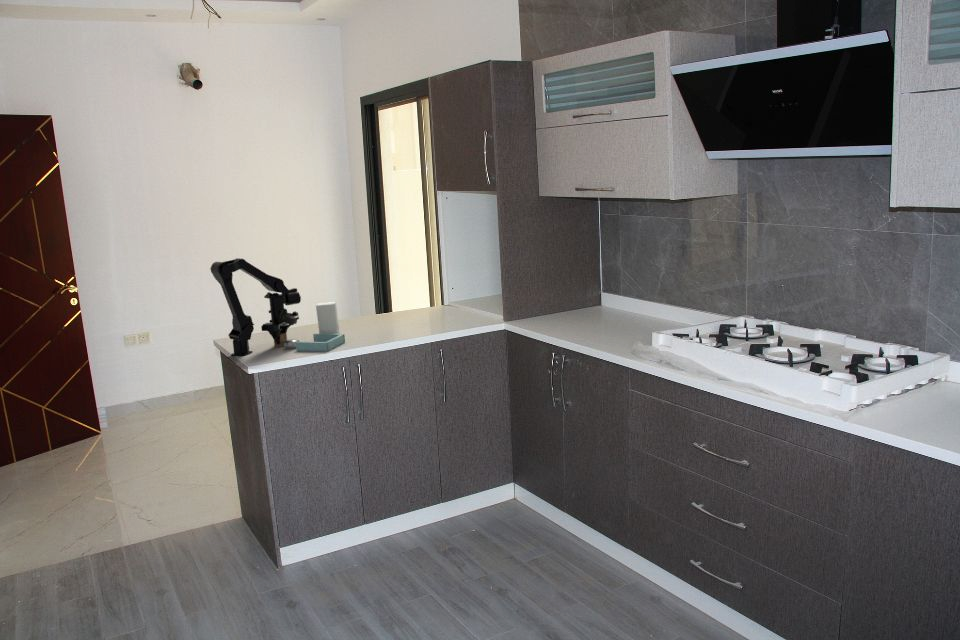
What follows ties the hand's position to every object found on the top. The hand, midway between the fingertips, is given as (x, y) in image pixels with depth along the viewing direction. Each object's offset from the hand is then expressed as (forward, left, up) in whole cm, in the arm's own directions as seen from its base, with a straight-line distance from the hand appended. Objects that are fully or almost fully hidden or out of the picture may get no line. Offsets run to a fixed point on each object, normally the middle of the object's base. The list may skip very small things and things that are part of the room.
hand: (280, 343), depth 341 cm
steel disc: (-3, -7, -1) cm, 8 cm away
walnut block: (0, 0, -1) cm, 1 cm away
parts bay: (0, -19, -1) cm, 19 cm away
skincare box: (+16, -15, -1) cm, 22 cm away
